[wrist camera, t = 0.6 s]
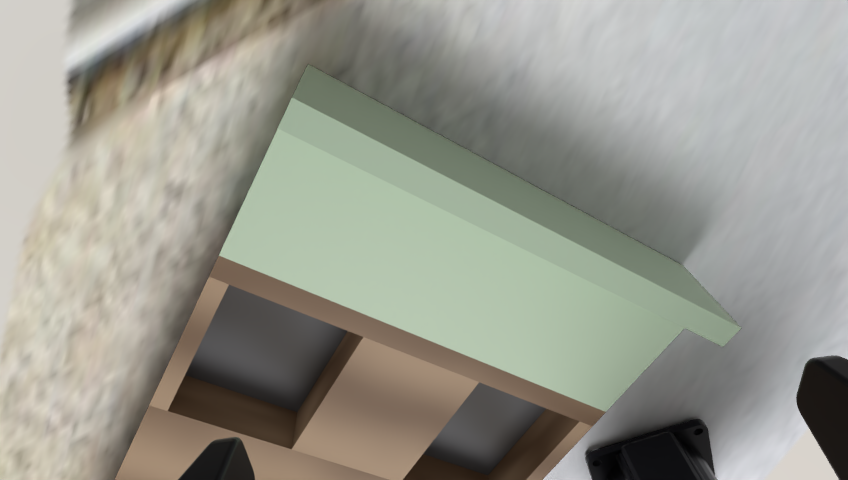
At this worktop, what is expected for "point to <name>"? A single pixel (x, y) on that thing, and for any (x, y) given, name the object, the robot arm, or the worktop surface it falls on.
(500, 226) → the pad
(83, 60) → the worktop surface
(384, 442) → the trap board
